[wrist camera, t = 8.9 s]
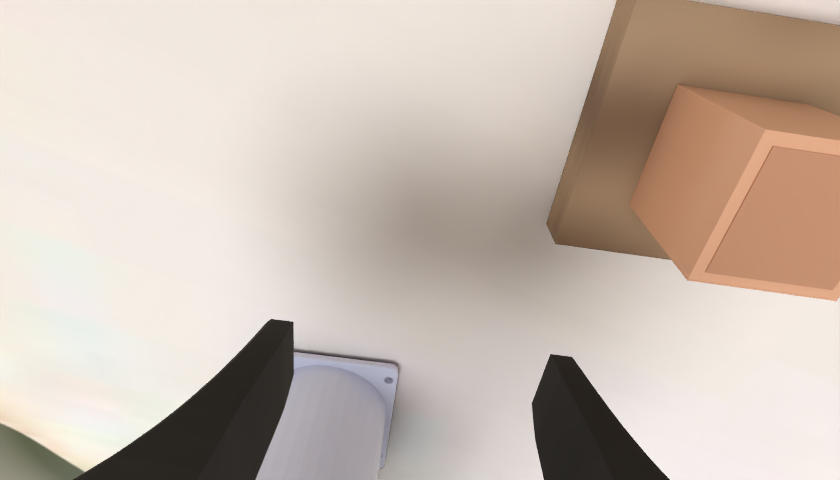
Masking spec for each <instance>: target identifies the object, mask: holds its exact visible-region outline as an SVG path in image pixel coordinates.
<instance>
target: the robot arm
mask: <svg viewBox="0 0 840 480" xmlns="http://www.w3.org/2000/svg"><path fill="white" fill-rule="evenodd" d="M398 372H399V370H398V367H397V366H396V365H394V364H389V363H381V362H373V361H365V360H356V359H348V358H340V357H331V356H323V355H315V354H306V353H298V352H294V340H293V322H290V321H282V320H274V319H271V320H269V321H268V322H267V323H266V324H265V325H264V326H263V327H262V328H261V329H260V331H259V332H258V333H257V334H256V335H255V336H254V337H253V338H252V339H251V340H250V342H249V343H248V344H247V345H246V346H245V347H244V348H243V349H242V350H241V351H240V352H239V353H238V354H237V355H236V356H235V357H234V358H233V359H232V360H231V361H230V362H229V363H228V364H227V365H226V366H225V367H224V368H223V369H222V370H221V371H220V372H219V373H218V374H217V375H216V376H215V377H214V378H212V379H211V380H210V381H209V382H208V383H207V384H206V385H205V386H203V387H202V388H201V389H200V390H199V391H198V392H197V393H196V394H194V395H193V396H192V397H191V398H190V399H189V400H188V401H186V402H185V403H184V404H183V405H181V406H180V407H179V408H178V409H177V410H175V411H174V412H173V413H172V414H170V415H169V416H168V417H166V418H165V419H164V420H162V421H161V422H160V423H159V424H157V425H156V426H155V427H153V428H152V429H150V430H149V431H148V432H146V433H145V434H143V435H142V436H141V437H139V438H138V439H136V440H135V441H133V442H132V443H131V444H129V445H128V446H126V447H125V448H123V449H122V450H120V451H119V452H117V453H116V454H114V455H113V456H111V457H109V458H108V459H106V460H105V461H103V462H101V463H100V464H98V465H96V466H95V467H93V468H91V469H90V470H88V471H87V472H85V473H83V474H82V475H80V476H78V477H77V478H75V479H73V480H378V476H379V469H382V468H383V467H384V465H385V459H386V452H387V446H388V439H389V432H390V426H391V419H392V413H393V406H394V400H395V393H396V386H397V380H398ZM387 377H390V379H389V378H387ZM532 410H533V422H534V431H535V440H536V445H537V449H538V454H539V459H540V463H541V468H542V472H543V477H544V480H670V479H669V478H668V477H667V476H666V475H665V474H664V473H663V472H662V471H661V470H660V469H659V468H658V467H657V466H656V465H655V464H654V462H653V461H652V460H651V459H650V458H649V457H648V456H647V455H646V453H645V452H644V451H643V450H642V449H641V447H640V446H639V445H638V444H637V443H636V442H635V440H634V439H633V438H632V437H631V436H630V434H629V433H628V432H627V431H626V429H625V428H624V427H623V426H622V424H621V423H620V422H619V421H618V419H617V418H616V417H615V415H614V414H613V413H612V411H611V410H610V409H609V407H608V406H607V405H606V403H605V402H604V401H603V399H602V398H601V397H600V395H599V394H598V393H597V391H596V390H595V388H594V387H593V386H592V384H591V383H590V381H589V380H588V379H587V377H586V376H585V374H584V373H583V372H582V370H581V369H580V367H579V366H578V365H577V363H576V362H575V361H574V359H573V358H572V357H568V356H560V355H552V354H550V357H549V360H548V362H547V365H546V368H545V370H544V373H543V376H542V378H541V381H540V383H539V386H538V389H537V391H536V394H535V397H534V399H533V402H532Z"/></svg>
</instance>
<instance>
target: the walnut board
mask: <svg viewBox="0 0 840 480" xmlns="http://www.w3.org/2000/svg"><path fill="white" fill-rule="evenodd" d="M678 84H679V85H686V86H693V87H699V88H706V89H712V90H719V91H725V92H732V93H738V94H745V95H751V96H758V97H764V98H771V99H777V100H784V101H790V102H797V103H803V104H809V105H811V106H814V107H817V108H819V109H822V110H824V111H827V112H829V113H832V114H835V115H837V116H840V26H839V25H833V24H827V23H821V22H815V21H809V20H803V19H797V18H790V17H784V16H778V15H772V14H766V13H760V12H754V11H748V10H742V9H736V8H730V7H724V6H717V5H711V4H705V3H699V2H693V1H687V0H617V2H616V5H615V8H614V12H613V15H612V18H611V21H610V24H609V27H608V31H607V34H606V37H605V40H604V43H603V46H602V50H601V53H600V56H599V59H598V62H597V65H596V69H595V72H594V75H593V78H592V81H591V85H590V88H589V91H588V94H587V97H586V100H585V104H584V107H583V110H582V113H581V116H580V119H579V123H578V126H577V129H576V132H575V135H574V138H573V142H572V145H571V148H570V151H569V154H568V157H567V161H566V164H565V167H564V170H563V173H562V176H561V180H560V183H559V186H558V189H557V192H556V195H555V199H554V202H553V205H552V208H551V211H550V214H549V218H548V221H547V226H548V228H549V230H550V233H551V235H552V237H553V240H554V242H555V244H560V245H567V246H575V247H582V248H589V249H596V250H604V251H611V252H618V253H625V254H633V255H640V256H647V257H654V258H662V259H669V260H671V258H670V257H669V256H668V255H667V253H666V252H665V251H664V249H663V248H662V247H661V246H660V244H659V243H658V242H657V240H656V239H655V238H654V237H653V235H652V234H651V233H650V231H649V230H648V229H647V227H646V226H645V225H644V224H643V222H642V221H641V220H640V218H639V217H638V216H637V215H636V213H635V212H634V211H633V209H632V208H631V207H630V206H629V204H630V201H631V199H632V196H633V194H634V191H635V189H636V186H637V184H638V181H639V179H640V177H641V174H642V172H643V169H644V167H645V164H646V162H647V159H648V157H649V154H650V152H651V149H652V147H653V144H654V142H655V139H656V137H657V134H658V132H659V129H660V127H661V124H662V122H663V119H664V117H665V115H666V112H667V110H668V107H669V105H670V102H671V100H672V97H673V95H674V92H675V90H676V87H677V85H678Z"/></svg>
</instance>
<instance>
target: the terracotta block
mask: <svg viewBox="0 0 840 480" xmlns="http://www.w3.org/2000/svg"><path fill="white" fill-rule="evenodd" d="M629 206H630V207H631V208H632V209H633V211H634V212H635V213H636V215H637V216H638V217H639V218H640V220H641V221H642V222H643V224H644V225H645V226H646V227H647V229H648V230H649V231H650V233H651V234H652V235H653V237H654V238H655V239H656V240H657V242H658V243H659V244H660V246H661V247H662V248H663V249H664V251H665V252H666V253H667V255H668V256H669V257H670V258H671V260H672V261H673V262H674V264H675V265H676V266H677V268H678V269H679V270H680V271H681V273H682V274H683V275H684V277H685V278H686V279H687V280H689V281H696V282H704V283H711V284H718V285H725V286H732V287H740V288H747V289H754V290H761V291H769V292H776V293H783V294H790V295H797V296H805V297H812V298H819V299H826V300H834V301H837V299H838V298H839V297H840V116H837V115H835V114H832V113H829V112H827V111H824V110H822V109H819V108H817V107H814V106H811V105H809V104H803V103H797V102H790V101H784V100H777V99H771V98H764V97H758V96H751V95H745V94H738V93H732V92H725V91H719V90H712V89H706V88H699V87H693V86H686V85H679V84H678V85H677V87H676V90H675V92H674V95H673V97H672V100H671V102H670V105H669V107H668V110H667V112H666V115H665V117H664V119H663V122H662V124H661V127H660V129H659V132H658V134H657V137H656V139H655V142H654V144H653V147H652V149H651V152H650V154H649V157H648V159H647V162H646V164H645V167H644V169H643V172H642V174H641V177H640V179H639V181H638V184H637V186H636V189H635V191H634V194H633V196H632V199H631V201H630V204H629Z"/></svg>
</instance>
